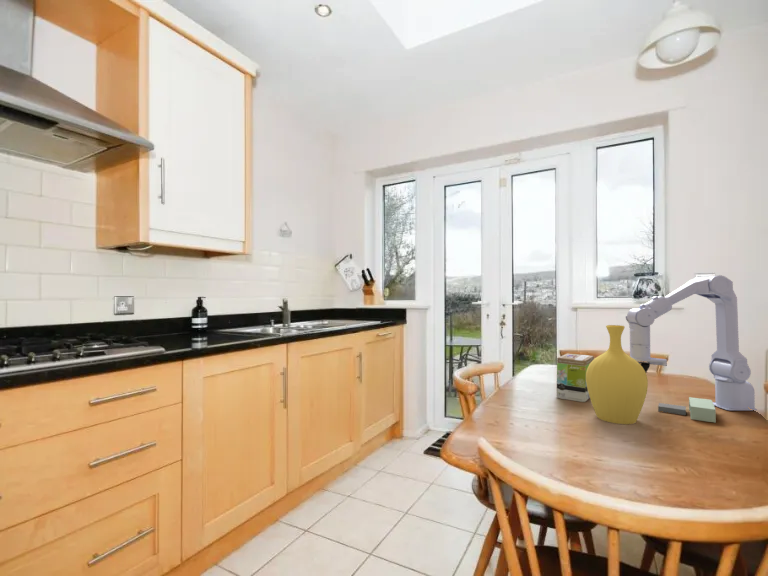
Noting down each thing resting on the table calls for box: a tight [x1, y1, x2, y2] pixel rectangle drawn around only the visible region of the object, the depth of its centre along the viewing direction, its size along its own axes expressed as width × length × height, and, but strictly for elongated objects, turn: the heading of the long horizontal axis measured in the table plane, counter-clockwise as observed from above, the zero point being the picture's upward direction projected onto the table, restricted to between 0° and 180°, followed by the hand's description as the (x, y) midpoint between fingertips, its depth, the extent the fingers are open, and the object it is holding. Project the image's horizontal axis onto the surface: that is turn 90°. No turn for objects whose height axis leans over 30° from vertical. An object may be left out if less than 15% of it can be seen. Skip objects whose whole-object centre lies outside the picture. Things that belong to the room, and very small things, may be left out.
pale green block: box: [688, 396, 717, 424], centre depth 121 cm, size 6×13×4 cm, turn 144°
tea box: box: [556, 353, 595, 403], centre depth 144 cm, size 15×10×15 cm, turn 143°
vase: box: [586, 324, 649, 425], centre depth 118 cm, size 16×16×28 cm
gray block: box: [657, 402, 687, 416], centre depth 126 cm, size 7×5×2 cm
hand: (640, 385), depth 131 cm, fingers closed
